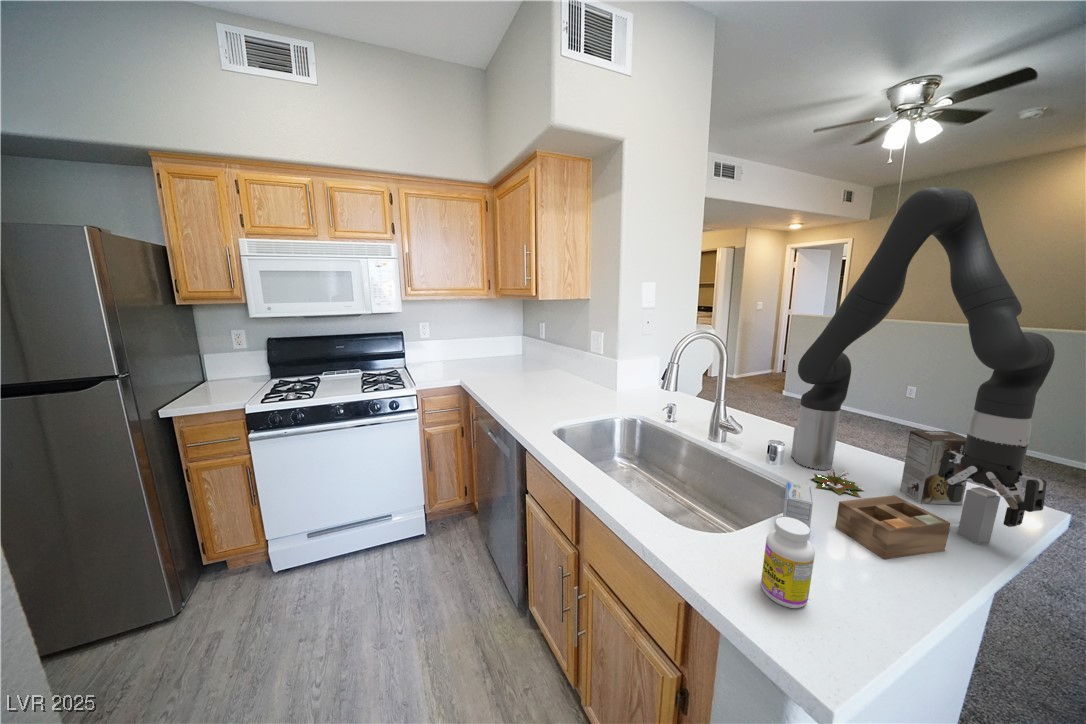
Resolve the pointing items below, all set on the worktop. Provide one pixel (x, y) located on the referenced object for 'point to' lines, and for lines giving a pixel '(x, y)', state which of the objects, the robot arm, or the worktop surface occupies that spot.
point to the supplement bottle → (788, 563)
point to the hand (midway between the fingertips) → (980, 512)
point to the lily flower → (838, 481)
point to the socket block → (892, 526)
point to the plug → (978, 515)
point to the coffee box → (930, 466)
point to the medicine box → (798, 503)
